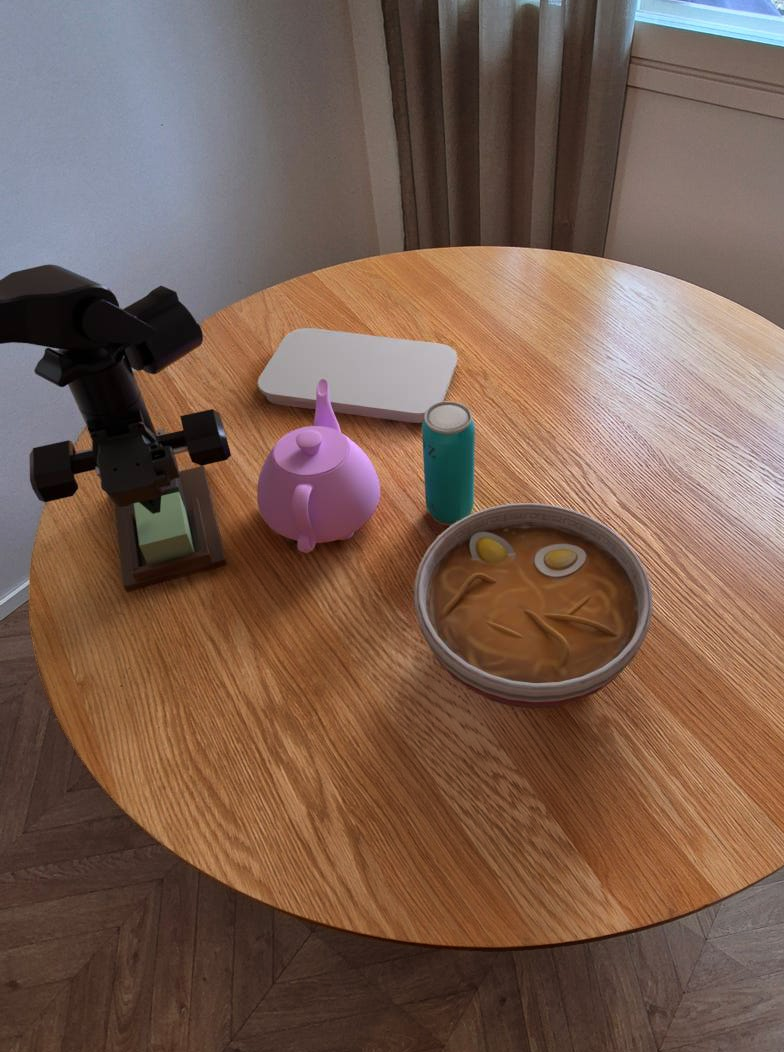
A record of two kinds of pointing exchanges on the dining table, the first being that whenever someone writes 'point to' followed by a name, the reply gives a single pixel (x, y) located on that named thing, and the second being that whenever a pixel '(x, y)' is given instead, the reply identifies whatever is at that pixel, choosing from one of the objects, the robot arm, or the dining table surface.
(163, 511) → the pad
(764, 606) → the dining table surface
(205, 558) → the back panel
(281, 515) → the teapot
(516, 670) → the bowl
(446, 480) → the beverage can
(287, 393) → the tablet
